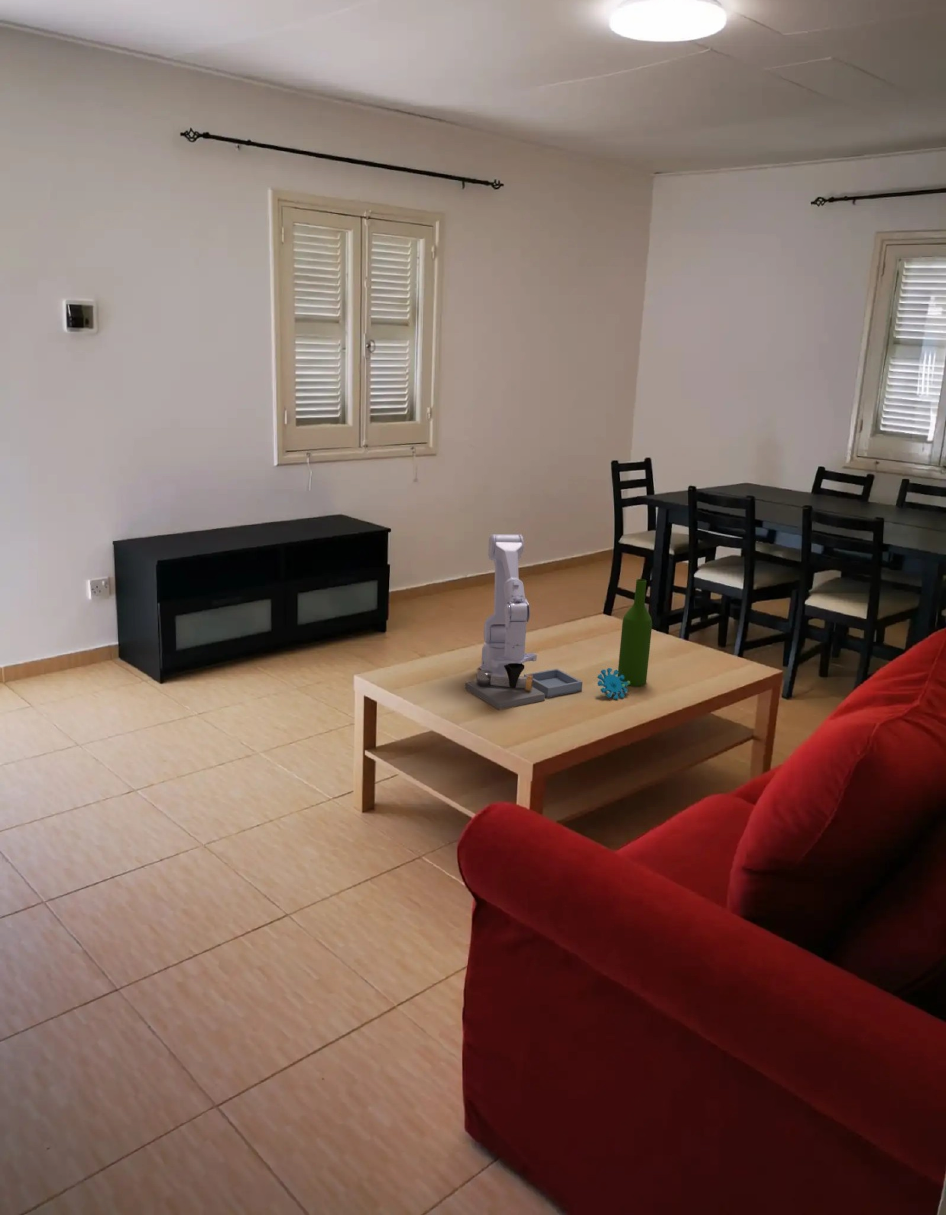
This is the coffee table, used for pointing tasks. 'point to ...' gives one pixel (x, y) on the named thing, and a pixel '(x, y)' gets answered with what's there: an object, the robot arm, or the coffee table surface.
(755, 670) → the coffee table surface
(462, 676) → the coffee table surface
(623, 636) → the wine bottle
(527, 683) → the lever
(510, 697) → the crank plate
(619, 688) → the blue spiky round piece
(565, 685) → the tray
